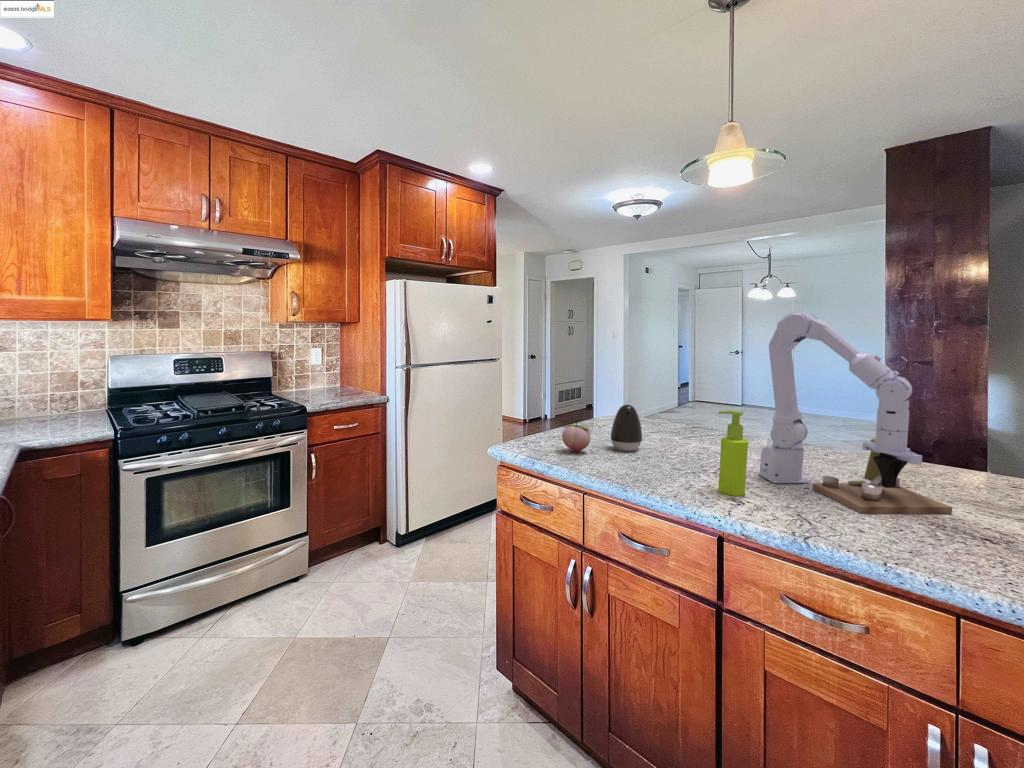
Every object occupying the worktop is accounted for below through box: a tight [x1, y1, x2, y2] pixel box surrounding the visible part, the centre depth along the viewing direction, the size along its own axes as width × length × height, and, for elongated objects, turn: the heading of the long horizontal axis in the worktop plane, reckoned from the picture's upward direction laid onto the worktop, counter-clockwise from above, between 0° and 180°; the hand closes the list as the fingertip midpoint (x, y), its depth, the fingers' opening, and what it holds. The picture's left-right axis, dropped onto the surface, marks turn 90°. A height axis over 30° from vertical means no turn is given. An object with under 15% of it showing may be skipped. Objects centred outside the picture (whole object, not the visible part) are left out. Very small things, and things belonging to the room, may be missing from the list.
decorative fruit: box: [561, 421, 591, 453], centre depth 152 cm, size 9×8×10 cm
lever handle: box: [861, 476, 885, 501], centre depth 109 cm, size 12×4×3 cm, turn 132°
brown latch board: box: [812, 475, 953, 515], centre depth 109 cm, size 20×16×4 cm
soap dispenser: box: [717, 409, 749, 497], centre depth 114 cm, size 6×7×20 cm
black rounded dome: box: [610, 404, 643, 452], centre depth 155 cm, size 10×10×15 cm
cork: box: [863, 438, 881, 482], centre depth 125 cm, size 6×6×11 cm
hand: (888, 487), depth 109 cm, fingers closed, pressing on lever handle
